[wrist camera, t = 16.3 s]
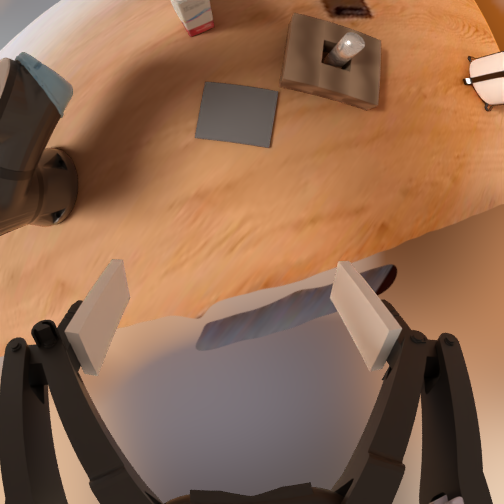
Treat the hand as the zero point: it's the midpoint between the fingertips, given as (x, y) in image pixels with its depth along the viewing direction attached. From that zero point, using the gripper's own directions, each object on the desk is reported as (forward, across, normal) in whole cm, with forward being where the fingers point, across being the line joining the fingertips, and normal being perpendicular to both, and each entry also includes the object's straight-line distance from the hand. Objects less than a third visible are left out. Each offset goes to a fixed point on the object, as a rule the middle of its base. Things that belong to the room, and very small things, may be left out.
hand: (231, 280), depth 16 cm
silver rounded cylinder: (+33, +17, +23) cm, 43 cm away
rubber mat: (+32, +1, +11) cm, 34 cm away
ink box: (+35, -8, +31) cm, 48 cm away
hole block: (+33, +16, +23) cm, 43 cm away
